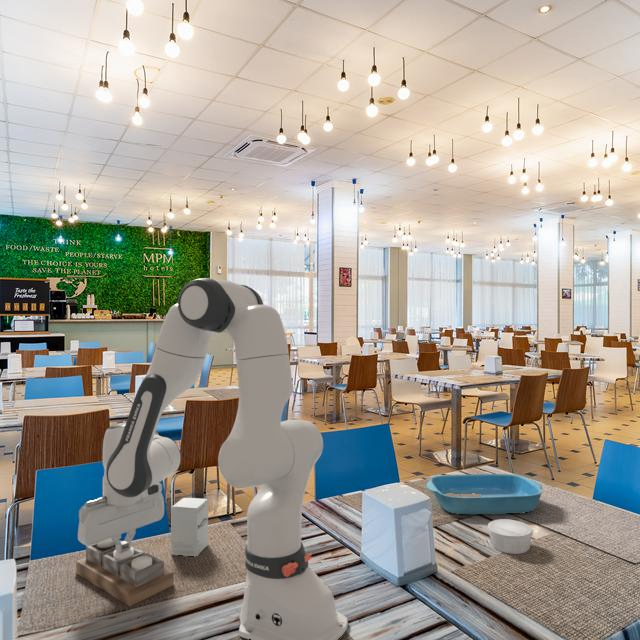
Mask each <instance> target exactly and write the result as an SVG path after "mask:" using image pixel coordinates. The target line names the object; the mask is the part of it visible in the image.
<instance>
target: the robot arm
mask: <svg viewBox="0 0 640 640" xmlns="http://www.w3.org/2000/svg"><path fill="white" fill-rule="evenodd" d="M161 325H162V326H161V327H160V331H159V335H158V337H157V341H156V346H155V349H154V353H153V356H152V359H151V362H150V365H149V367H148V370H147V371H146V374H145V375H144V376H145V377H144V378H143V380H141V383H140V385H139V387H138V389H137V391H136V393H135V396H134V399H133V401H132V405H131V407H130V410H129V414H128V417H127V419H126V421H125V422H122V423H116V424H114V425H111V426H109V427H108V428H106V431H105V432H104V435H103V436H104V437H103V441H102V442H103V443H102V466H103V471H104V473H103V474H104V475H103V476H102V496H101V497H98V498H97V499H94V500H89V501H86V502H85V503H84V505H82V506H81V508H80V509H79V511H78V519H79V521H78V522H79V523H78V529H77V530H78V531H77V540H78V542H80V543H81V544H82V545H85V547H86V546H90V545H92V544H95V543H98V542H101V541H103V540H106V539H109V538H111V539H112V540H113V542H114V543H115V544H116V552H118V553H121V552H123V551H126V550H128V549H131V546H132V541H133V540H134V537H135V535H136V532H137V531H136V529H139V528H142V527H145V526H147V525H150V524H153V523H155V522H159V521H161V520H162V518H163V517H164V515H165V500H164V496H163V493H162V490H163V484H162V483H161V482H162V481H163V480H165V479H167V478H168V477H170V476H172V475H174V474H175V473H176V472H177V471H178V470H179V468H180V465H181V461H182V455H181V454H182V453H181V450H180V447H179V446H178V444H177V442H176V441H174V440H173V439H172V438H169V437H167V436H161V435H158V434H156V430H157V428H158V424H159V421H160V420H161V417H162V414H163V413H164V412H165V410H166V408H167V407H168V406H169V405H170V404H171V403H172V402H174V400H176V399H177V398H178V397H179V396H181V395H182V394H183V393H185V392H186V391H188V390H189V389H191V388H192V387H193V386H194V385H195V384H196V383H197V381H198V379H199V377H200V375H201V372H202V371H203V368H204V364H205V359H206V355H207V350H208V347H209V342H210V340H211V338H212V336H213V335H214V334H215V333H217V334H218V333H219V334H220V333H223V332H224V333H227V334H228V335H229V336H230V337H231V339H232V341H233V344H234V354H235V362H236V372H237V381H238V405H237V406H238V407H237V412H236V417H235V421H234V423H233V426H232V429H231V431H230V433H229V435H228V436H227V438H226V439H225V441H224V442H223V443H222V444H221V446H220V449H219V452H218V456H217V457H218V458H217V459H218V460H217V461H218V469H219V471H220V475H221V476H222V478H223V479H224V481H225V482H226V483H227V484H228V485H229V486H231V487H232V488H235V489H250V488H257V487H259V489H258V491H257V492H256V494H255V496H254V498H253V499H252V500H251V502H249V503H250V504H249V506H248V508H247V513H246V521H247V522H246V525H247V526H246V531H247V535H246V536H247V539H246V542H247V544H246V546H245V551H244V552H245V554H244V566H245V568H246V575H245V576H246V577H245V582H244V583H245V584H244V592H243V599H242V600H243V601H242V605H241V608H240V609H241V610H240V612H239V621H240V625H239V628H238V636H240V637H241V638H244V639H247V640H249V639H251V640H337V639H338V638H339V637H340V636H342V635H343V633H344V632H345V631H347V630H348V626H349V623H348V622H349V621H348V618H347V617H346V616H345V615H344V614H342V613H340V612H339V611H337V609H336V601H335V597H334V594H333V593H332V591H331V589H330V588H328V586H327V584H326V582H325V580H323V579H321V578H320V577H319V576H318V575H317V574H316V572H315V571H314V570H313V568H312V567H310V565H309V561H310V560H311V559H313V556H312V555H313V553H312V552H310V553H308V554H307V553H306V550H305V546H304V544H303V542H302V519H303V518H302V513H303V512H302V511H303V503H304V498H305V494H306V489H307V487H308V486H307V485H308V483H309V480H310V477H311V473H312V471H313V469H314V467H315V465H316V463H317V461H318V460H319V458H320V457H321V455H322V453H323V450H324V439H323V436H322V433H321V430H320V429H319V428H318V427H317V426H316V424H314V423H313V422H312V421H309V420H303V419H287V420H282V417H283V411H284V408H285V406H286V403H287V402H288V401H289V400H290V398H291V396H292V394H293V391H294V386H293V378H292V377H293V375H292V369H291V359H290V355H289V354H290V353H289V347H288V341H287V336H286V333H285V328H284V325H283V322H282V318H281V315H280V313H279V312H278V310H277V309H276V308H274V307H272V306H269V305H266V304H264V301H263V299H262V297H261V295H260V294H259V293H258V292H257V291H256V290H255V289H253V288H252V287H250V286H248V285H244V284H239V283H235V282H233V281H231V280H226V279H219V278H218V279H215V278H209V277H203V278H197V279H193V280H190V281H189V282H187V283H186V284H184V285H183V287H182V289H180V291H179V294H178V298H177V303H175V304H173V305H172V306H170V308H169V309H168V311H167V313H166V315H165V318H164V320H163V323H162V324H161ZM125 533H126V534H125ZM122 534H125V535H126V536H125V537H124V540H120V539H122ZM120 541H122V542H120ZM345 633H346V632H345ZM345 633H344V634H345ZM343 636H344V635H343ZM343 636H342V637H343Z"/></svg>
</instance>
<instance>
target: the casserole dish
mask: <svg viewBox="0 0 640 640" xmlns="http://www.w3.org/2000/svg"><path fill="white" fill-rule="evenodd" d="M426 488H427V489H428V490H429V491H430V492H431V493H433V496H434V497H435V499H436V501H437V502H438V503H439V505H440V506H441V507H442V508H443V509H444V511H446V512H448V513H450V512H451V513H450V514H453V513H456V514H455V515H459V514H492V515H507V514H506V513H520V514H524V513H523V512H528V513H530V511H531V512H532V511H534V510H535V509H536V508H537V506H538V505H539V502H540V499H541V495H542V489H543V486H542V484H541V483H540V482H538V481H536V480H534V479H530V478H526V477H524V476H522V475H519V474H509V473H478V474H477V473H476V474H474V473H473V474H440V475H435V476H432V477H431V478H430V479H429V481H428V482H427V483H426ZM447 493H454V494H472V493H475V494H481V495H480V496H481V497H452V496H447V495H444V494H447Z"/></svg>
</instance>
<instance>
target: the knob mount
mask: <svg viewBox="0 0 640 640" xmlns="http://www.w3.org/2000/svg"><path fill="white" fill-rule="evenodd" d="M122 541H123V540H120V542H122ZM131 547H132V548H133V549H134V555H133V556H131V557H128V558H126V559H123V560H121V561H118V560H116V559H115V558H114V555H113V552H114V551H115V550H116V544H115V545H113V546H111V547H107V548H99V547H97V543H95V544H92V545H90V546H86V545H85V557H83V558H81V559H78V560H76V561H75V562H76V566H75V572H76V574H75V575H77V576H79V577H81V578H82V579H84V580H86V581H87V582H89V583H91V584H93V585H94V586H95V587H97V588H99V589H100V590H102V591H104V592H106V593H107V594H108V595H110V596H112V597H113V598H115V599H117V600H118V601H120V602H122V603H123V604H125V605H127V606H128V607H132V606H134V605H136V604H138V603H140V602H142V601H144V600H146V599H148V598H150V597H152V596H155V595H156V594H158V593H161V592H162V591H165V590H166V589H168V588H170V587H173V586H174V585H175V584H174V583H175V582H174V571H173V570H170V569H168V568H166V567H165V562H164V561H163V560H161V559H160V558H157V557H155V556H154V555H151V554H149V553H146V552H145V551H144V550H140V549H138V548H137V547H134V546H133V545H131ZM141 556H149V557H151V558H152V565H151V566H148V567H146V568H144V569H141V570H139V571H137V570H135V569H134V568H132V560H133V559H135V558H137V557H141Z"/></svg>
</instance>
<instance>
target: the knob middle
mask: <svg viewBox="0 0 640 640" xmlns="http://www.w3.org/2000/svg"><path fill="white" fill-rule="evenodd" d="M113 555H114V558H115V559H116V560H118V561H121V560H123V559H126V558H128V557H131V556H133V555H134V549H133V548H132V547H131V549H128V550H126V551H123V552H121V553H118V552H116V550H115V551H114V552H113Z"/></svg>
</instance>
